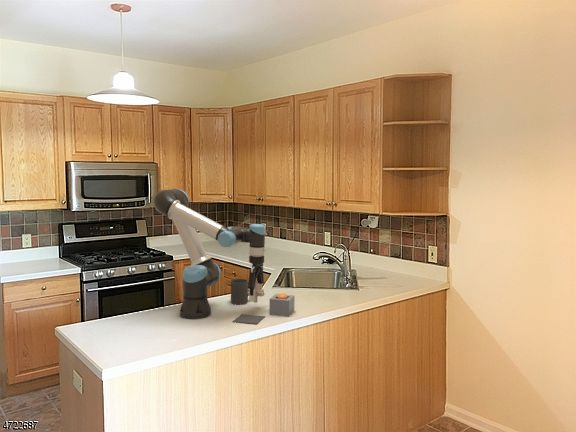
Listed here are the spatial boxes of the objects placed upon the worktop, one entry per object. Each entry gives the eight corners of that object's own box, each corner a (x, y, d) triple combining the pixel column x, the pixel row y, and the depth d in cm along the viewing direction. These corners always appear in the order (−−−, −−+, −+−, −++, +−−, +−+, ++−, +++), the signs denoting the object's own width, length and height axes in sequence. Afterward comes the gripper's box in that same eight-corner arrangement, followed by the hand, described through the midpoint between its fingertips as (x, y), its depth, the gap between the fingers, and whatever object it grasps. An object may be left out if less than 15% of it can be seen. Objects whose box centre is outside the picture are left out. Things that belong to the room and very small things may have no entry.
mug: (237, 306, 257) (237, 283, 255) (227, 302, 263) (227, 280, 262) (257, 301, 266) (257, 279, 265) (247, 297, 273) (247, 276, 271)
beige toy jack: (255, 298, 254) (255, 279, 253) (269, 302, 248) (270, 282, 247) (241, 302, 247) (241, 282, 246) (256, 306, 240) (256, 286, 239)
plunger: (275, 300, 243) (275, 295, 242) (278, 298, 248) (278, 293, 247) (285, 301, 241) (285, 296, 241) (288, 298, 246) (288, 293, 246)
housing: (269, 314, 242) (269, 298, 241) (275, 309, 251) (275, 293, 250) (289, 316, 239) (289, 300, 238) (294, 310, 249) (294, 295, 248)
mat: (232, 322, 230) (232, 321, 230) (241, 314, 241) (241, 313, 241) (256, 324, 227) (256, 323, 227) (264, 317, 238) (264, 316, 238)
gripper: (256, 259, 233) (255, 305, 235) (270, 252, 255) (269, 294, 257) (241, 258, 235) (240, 303, 237) (257, 250, 257) (256, 292, 259)
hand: (255, 298), depth 247 cm, fingers closed on beige toy jack, 10 cm apart
